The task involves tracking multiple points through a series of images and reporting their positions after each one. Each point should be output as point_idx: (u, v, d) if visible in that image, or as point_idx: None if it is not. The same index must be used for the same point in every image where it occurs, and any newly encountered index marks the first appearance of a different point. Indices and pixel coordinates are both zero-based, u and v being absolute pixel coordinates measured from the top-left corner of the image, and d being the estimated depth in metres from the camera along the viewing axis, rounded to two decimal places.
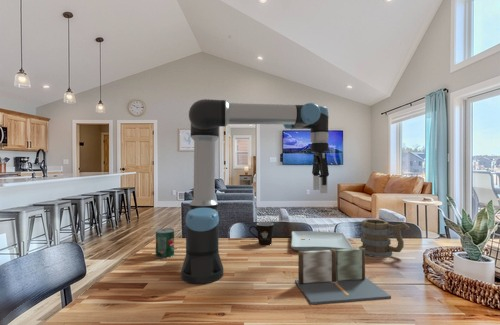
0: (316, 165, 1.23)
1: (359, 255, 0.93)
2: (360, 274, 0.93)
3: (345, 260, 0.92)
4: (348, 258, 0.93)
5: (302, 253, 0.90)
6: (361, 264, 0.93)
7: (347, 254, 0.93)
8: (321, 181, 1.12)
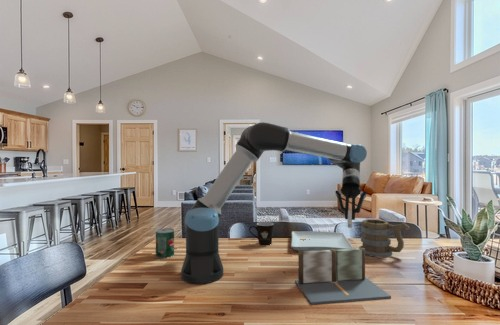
0: None
1: (359, 255, 0.93)
2: (360, 274, 0.93)
3: (345, 260, 0.92)
4: (348, 258, 0.93)
5: (302, 253, 0.90)
6: (361, 264, 0.93)
7: (347, 254, 0.93)
8: None
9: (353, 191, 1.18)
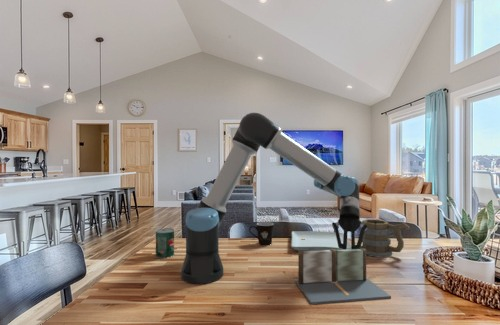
0: None
1: (360, 256, 0.93)
2: (361, 275, 0.92)
3: (345, 260, 0.92)
4: (348, 258, 0.92)
5: (302, 253, 0.90)
6: (362, 265, 0.93)
7: (347, 254, 0.92)
8: None
9: (352, 224, 1.04)
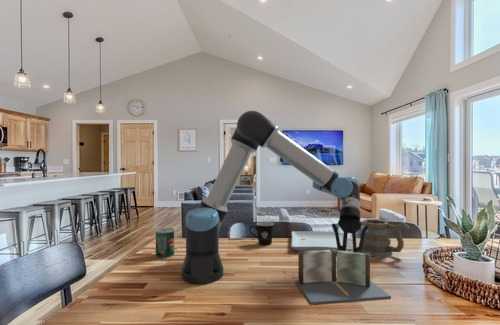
0: None
1: (362, 260, 0.89)
2: (363, 280, 0.88)
3: (345, 262, 0.90)
4: (349, 261, 0.90)
5: (302, 253, 0.90)
6: (364, 270, 0.88)
7: (348, 256, 0.90)
8: None
9: (353, 225, 1.01)
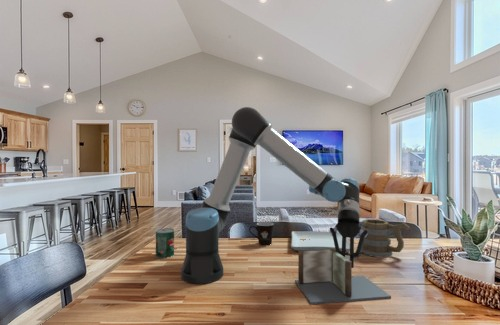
0: None
1: (343, 266, 0.83)
2: (344, 288, 0.83)
3: (336, 264, 0.88)
4: (337, 264, 0.87)
5: (302, 253, 0.90)
6: (344, 277, 0.83)
7: (337, 259, 0.88)
8: None
9: (351, 229, 0.96)
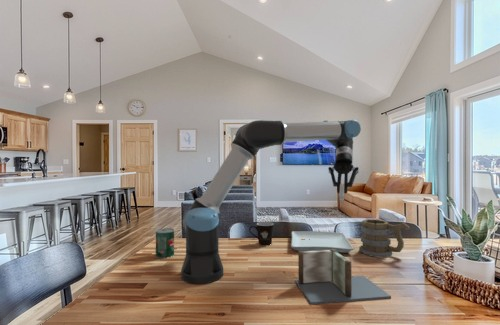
0: None
1: (343, 266, 0.83)
2: (344, 288, 0.83)
3: (336, 264, 0.88)
4: (337, 264, 0.87)
5: (302, 253, 0.90)
6: (344, 277, 0.83)
7: (337, 259, 0.88)
8: None
9: (345, 167, 1.20)
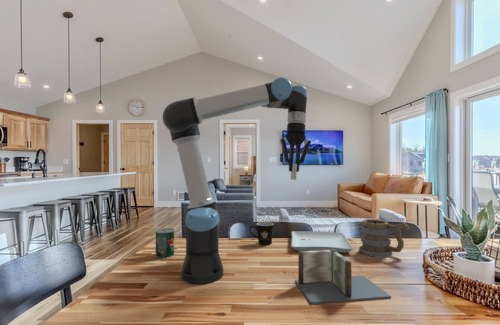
0: (296, 148, 1.15)
1: (343, 266, 0.83)
2: (344, 288, 0.83)
3: (336, 264, 0.88)
4: (337, 264, 0.87)
5: (302, 253, 0.90)
6: (344, 277, 0.83)
7: (337, 259, 0.88)
8: None
9: (299, 141, 1.13)
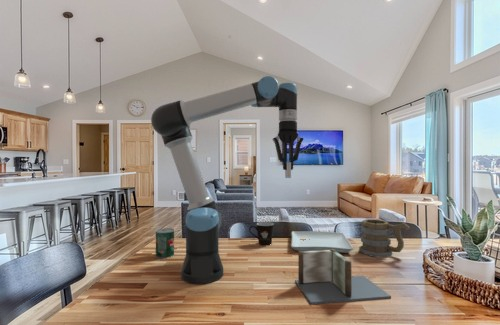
0: (289, 146, 1.15)
1: (343, 266, 0.83)
2: (344, 288, 0.83)
3: (336, 264, 0.88)
4: (337, 264, 0.87)
5: (302, 253, 0.90)
6: (344, 277, 0.83)
7: (337, 259, 0.88)
8: None
9: (292, 139, 1.13)
